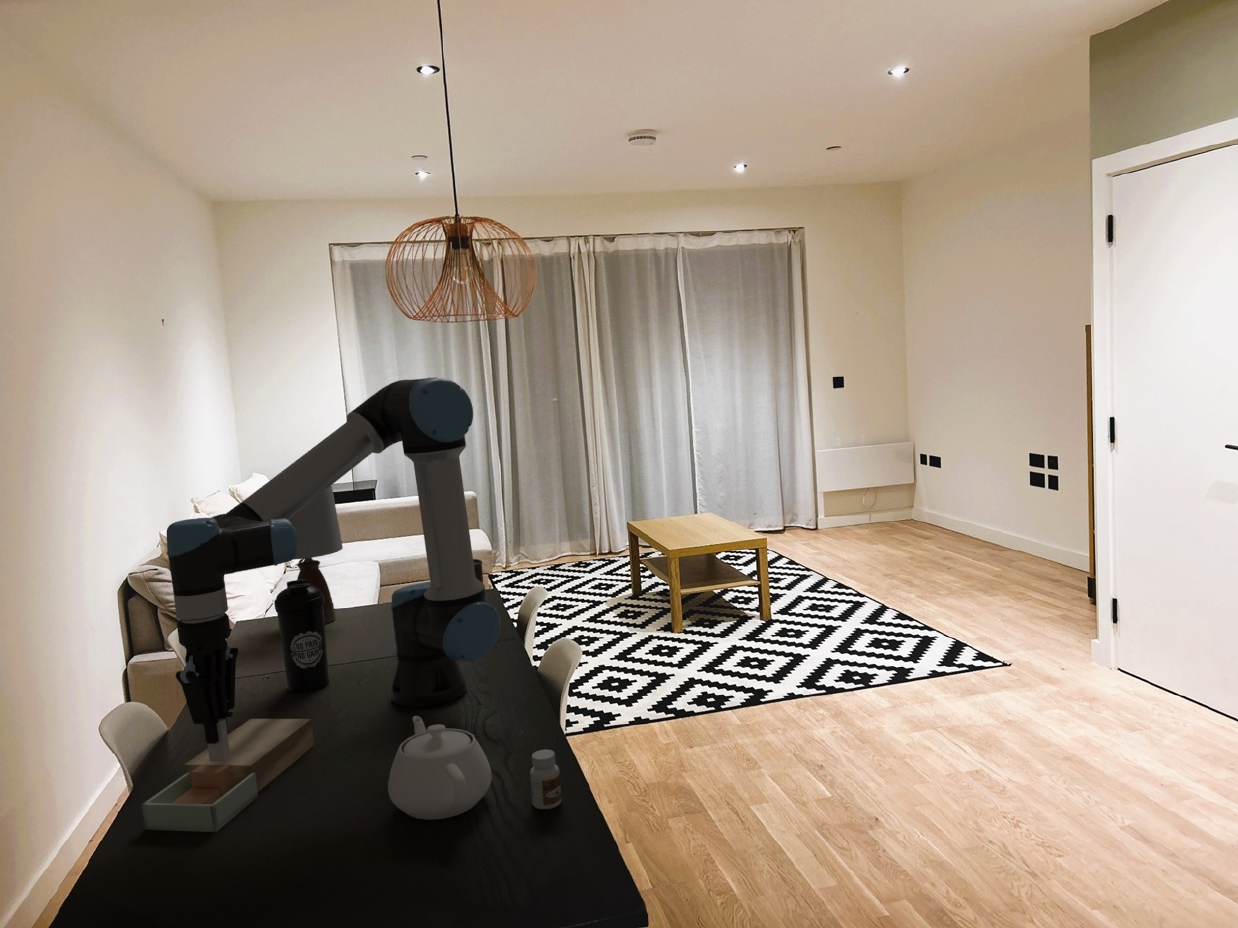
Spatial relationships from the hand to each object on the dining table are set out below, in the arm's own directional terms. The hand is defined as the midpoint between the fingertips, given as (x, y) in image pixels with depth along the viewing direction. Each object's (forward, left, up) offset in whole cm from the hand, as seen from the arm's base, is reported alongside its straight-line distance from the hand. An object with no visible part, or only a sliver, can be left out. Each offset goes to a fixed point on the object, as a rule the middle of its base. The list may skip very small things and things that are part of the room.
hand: (219, 759), depth 147 cm
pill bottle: (-54, 0, -6) cm, 54 cm away
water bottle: (+13, -50, -6) cm, 52 cm away
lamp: (+39, -100, -6) cm, 108 cm away
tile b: (0, +7, -3) cm, 7 cm away
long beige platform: (+1, -10, -6) cm, 12 cm away
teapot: (-37, 0, -7) cm, 38 cm away
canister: (-9, -90, -6) cm, 91 cm away
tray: (0, +5, -6) cm, 8 cm away
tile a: (0, +1, -3) cm, 3 cm away
